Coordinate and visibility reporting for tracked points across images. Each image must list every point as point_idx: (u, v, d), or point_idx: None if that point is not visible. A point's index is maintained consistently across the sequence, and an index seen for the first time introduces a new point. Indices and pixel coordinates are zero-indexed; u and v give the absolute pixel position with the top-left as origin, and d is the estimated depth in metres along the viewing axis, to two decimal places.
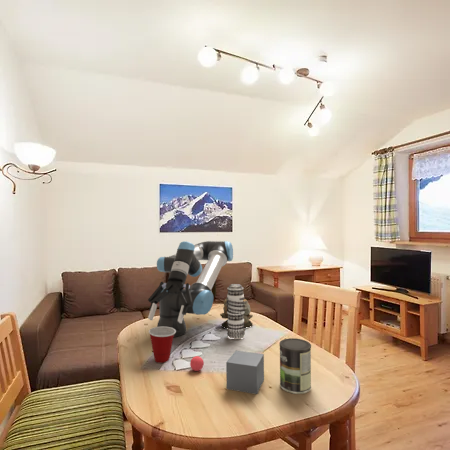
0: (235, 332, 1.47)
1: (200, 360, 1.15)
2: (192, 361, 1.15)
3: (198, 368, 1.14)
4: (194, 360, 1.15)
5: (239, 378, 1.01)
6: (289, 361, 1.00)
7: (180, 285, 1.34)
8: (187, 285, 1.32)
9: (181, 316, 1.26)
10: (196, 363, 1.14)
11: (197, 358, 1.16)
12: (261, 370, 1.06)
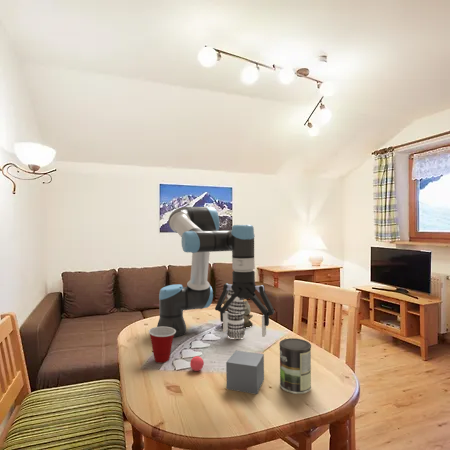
0: (235, 332, 1.47)
1: (200, 360, 1.15)
2: (192, 361, 1.15)
3: (198, 368, 1.14)
4: (194, 360, 1.15)
5: (239, 378, 1.01)
6: (289, 361, 1.00)
7: (251, 289, 1.04)
8: (261, 289, 1.03)
9: (264, 329, 1.03)
10: (196, 363, 1.14)
11: (197, 358, 1.16)
12: (261, 370, 1.06)
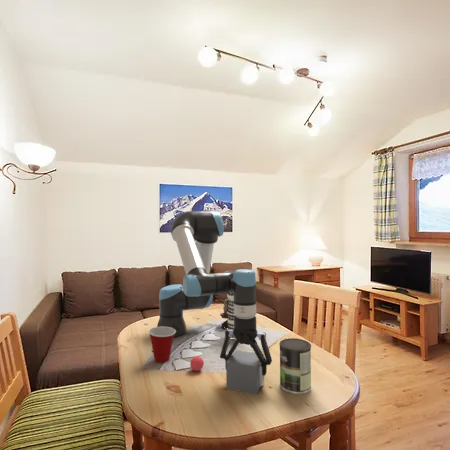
0: None
1: (200, 360, 1.15)
2: (192, 361, 1.15)
3: (198, 368, 1.14)
4: (194, 360, 1.15)
5: (239, 378, 1.01)
6: (289, 361, 1.00)
7: (253, 335, 1.04)
8: (263, 338, 1.03)
9: (262, 378, 1.04)
10: (196, 363, 1.14)
11: (197, 358, 1.16)
12: None
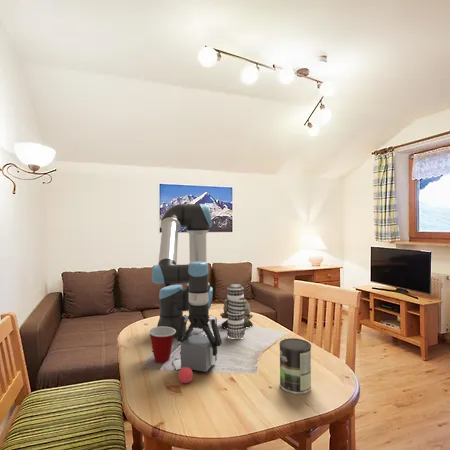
0: (235, 332, 1.47)
1: None
2: None
3: (190, 369, 1.08)
4: None
5: (191, 358, 1.14)
6: (289, 361, 1.00)
7: (205, 320, 1.16)
8: (213, 322, 1.15)
9: (213, 358, 1.16)
10: None
11: None
12: None
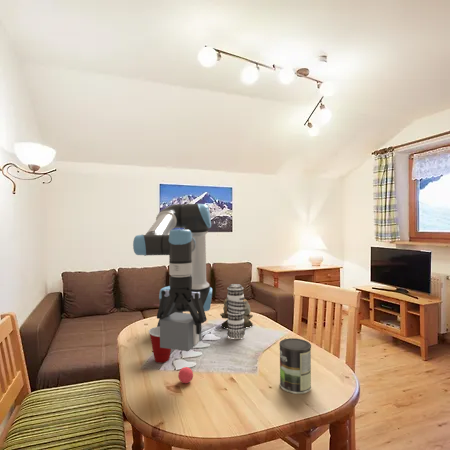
0: (235, 332, 1.47)
1: None
2: None
3: (190, 369, 1.08)
4: None
5: (172, 336, 1.01)
6: (289, 361, 1.00)
7: (187, 294, 1.03)
8: (196, 296, 1.02)
9: (196, 337, 1.03)
10: None
11: None
12: None
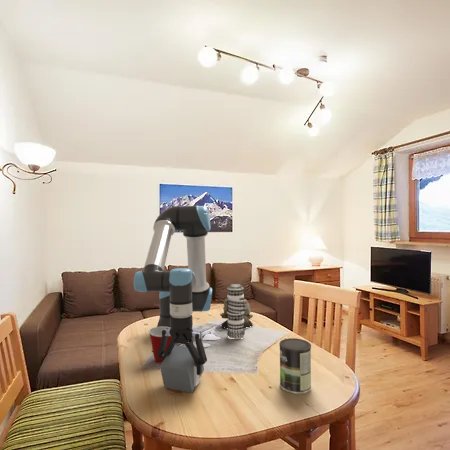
0: (235, 332, 1.47)
1: None
2: None
3: None
4: None
5: (174, 379, 1.02)
6: (289, 361, 1.00)
7: (188, 335, 1.03)
8: (197, 337, 1.02)
9: (197, 377, 1.03)
10: None
11: None
12: None
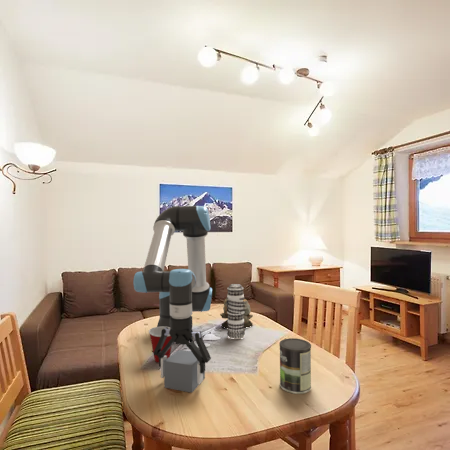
0: (235, 332, 1.47)
1: None
2: None
3: None
4: None
5: (176, 377, 1.03)
6: (289, 361, 1.00)
7: (188, 335, 1.03)
8: (197, 336, 1.02)
9: (200, 376, 1.02)
10: None
11: None
12: None
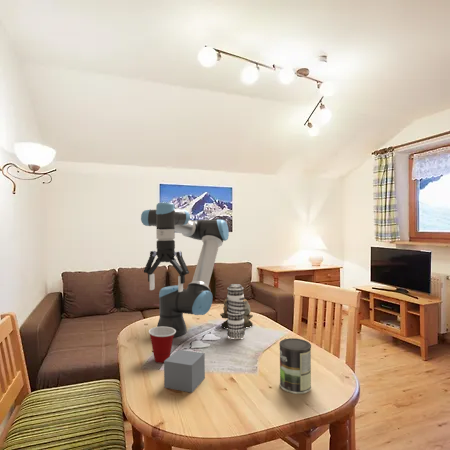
0: (235, 332, 1.47)
1: None
2: None
3: None
4: None
5: (176, 377, 1.03)
6: (289, 361, 1.00)
7: (171, 254, 1.29)
8: (178, 254, 1.28)
9: (181, 286, 1.28)
10: None
11: None
12: (200, 369, 1.07)
